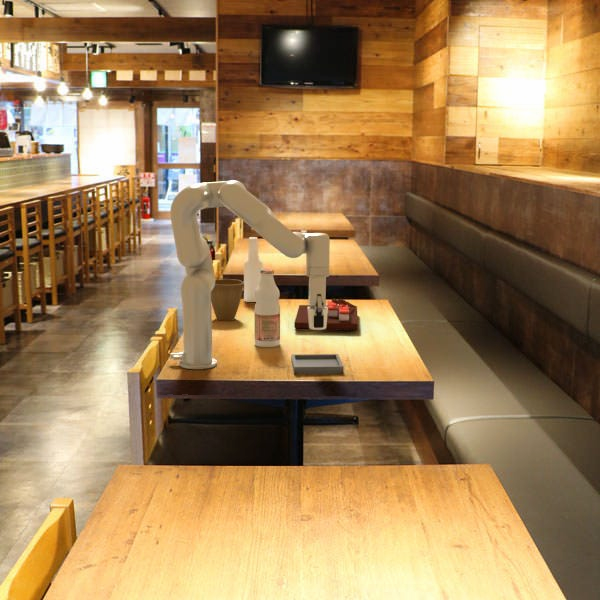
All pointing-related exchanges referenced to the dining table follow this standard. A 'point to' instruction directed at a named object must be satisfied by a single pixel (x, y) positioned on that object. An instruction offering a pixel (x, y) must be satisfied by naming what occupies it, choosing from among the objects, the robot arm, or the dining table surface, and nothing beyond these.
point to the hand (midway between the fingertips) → (317, 324)
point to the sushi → (331, 316)
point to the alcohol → (252, 271)
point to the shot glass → (311, 317)
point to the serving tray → (316, 364)
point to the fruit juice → (267, 311)
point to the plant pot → (226, 298)
